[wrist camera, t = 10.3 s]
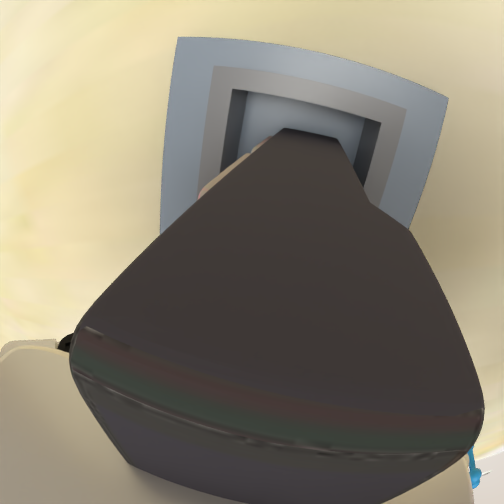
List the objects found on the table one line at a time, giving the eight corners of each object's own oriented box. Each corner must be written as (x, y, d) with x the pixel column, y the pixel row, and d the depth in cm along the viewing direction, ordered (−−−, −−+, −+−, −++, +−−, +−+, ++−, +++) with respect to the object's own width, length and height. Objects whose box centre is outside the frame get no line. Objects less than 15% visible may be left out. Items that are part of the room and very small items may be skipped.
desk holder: (443, 97, 13) (480, 101, 9) (348, 342, 23) (351, 385, 19) (183, 38, 14) (147, 26, 10) (164, 298, 24) (142, 334, 20)
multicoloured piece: (269, 123, 15) (-8, 310, 2) (349, 140, 14) (503, 434, 1) (244, 290, 20) (156, 511, 7) (306, 304, 20) (266, 539, 7)
